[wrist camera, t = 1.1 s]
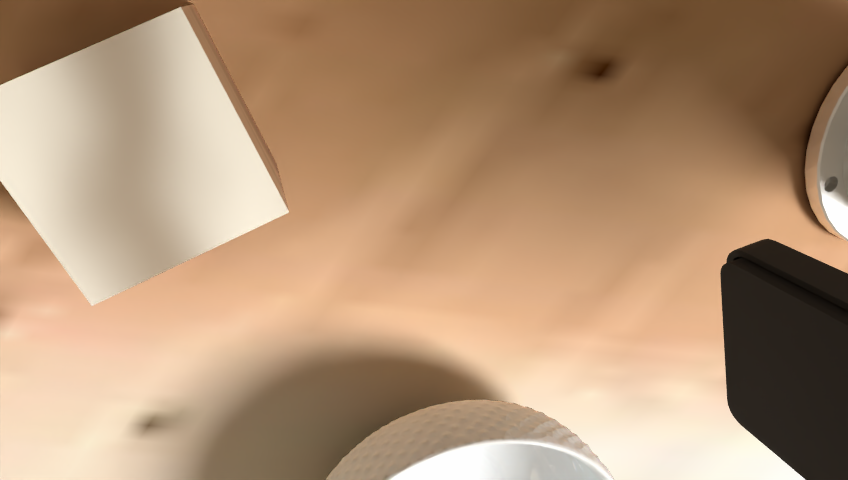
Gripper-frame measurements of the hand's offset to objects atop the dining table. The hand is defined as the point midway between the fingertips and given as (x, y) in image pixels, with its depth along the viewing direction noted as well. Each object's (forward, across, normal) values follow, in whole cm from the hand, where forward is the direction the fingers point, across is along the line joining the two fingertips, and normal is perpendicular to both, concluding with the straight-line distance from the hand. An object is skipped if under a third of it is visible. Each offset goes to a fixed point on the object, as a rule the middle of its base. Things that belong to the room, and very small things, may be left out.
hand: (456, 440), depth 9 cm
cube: (+21, +6, -3) cm, 22 cm away
